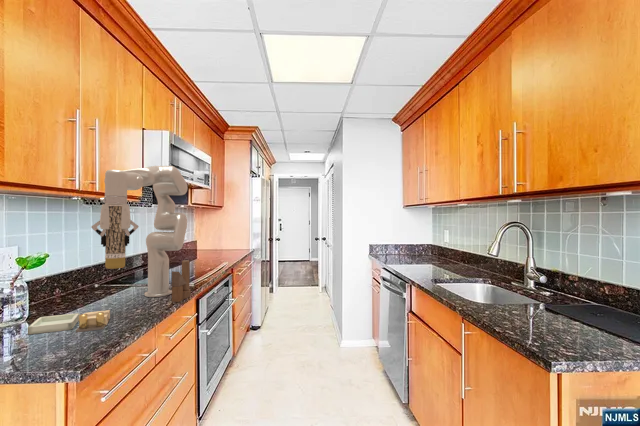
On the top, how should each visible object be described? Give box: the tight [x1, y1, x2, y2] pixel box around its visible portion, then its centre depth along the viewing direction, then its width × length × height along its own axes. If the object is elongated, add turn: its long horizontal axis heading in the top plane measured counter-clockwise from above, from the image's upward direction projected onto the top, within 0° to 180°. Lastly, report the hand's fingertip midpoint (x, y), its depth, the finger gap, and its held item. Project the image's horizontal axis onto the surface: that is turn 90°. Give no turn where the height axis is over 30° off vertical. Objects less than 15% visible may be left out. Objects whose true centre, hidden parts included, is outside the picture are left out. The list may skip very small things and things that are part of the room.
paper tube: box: [104, 205, 127, 270], centre depth 130 cm, size 7×7×25 cm
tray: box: [27, 312, 81, 336], centre depth 118 cm, size 12×12×2 cm
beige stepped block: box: [84, 309, 111, 326], centre depth 122 cm, size 9×8×4 cm
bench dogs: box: [75, 312, 106, 333], centre depth 116 cm, size 4×8×5 cm, turn 116°
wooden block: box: [171, 259, 192, 303], centre depth 156 cm, size 4×11×18 cm, turn 173°
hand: (115, 245), depth 130 cm, fingers closed on paper tube, 6 cm apart
